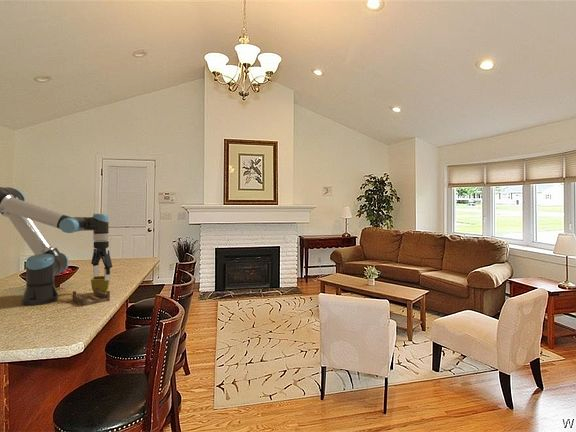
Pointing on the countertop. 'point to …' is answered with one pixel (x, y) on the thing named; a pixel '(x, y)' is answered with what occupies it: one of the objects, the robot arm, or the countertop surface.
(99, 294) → the rack
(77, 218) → the robot arm
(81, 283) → the countertop surface
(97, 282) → the flower pot
